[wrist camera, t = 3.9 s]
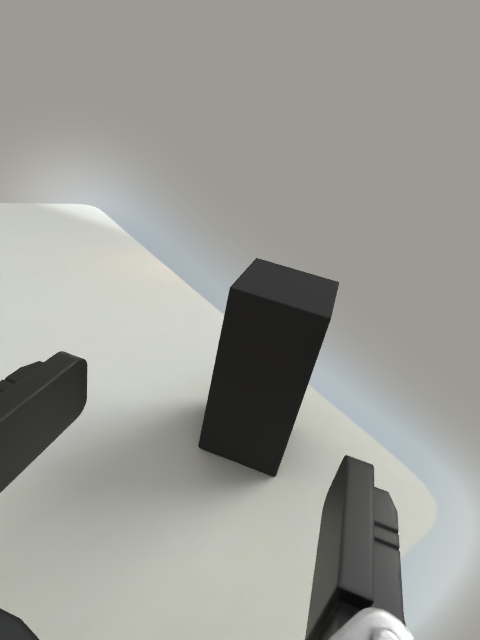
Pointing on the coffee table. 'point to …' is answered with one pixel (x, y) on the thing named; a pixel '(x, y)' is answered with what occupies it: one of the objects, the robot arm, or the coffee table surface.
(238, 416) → the tall black rectangular block
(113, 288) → the coffee table surface
